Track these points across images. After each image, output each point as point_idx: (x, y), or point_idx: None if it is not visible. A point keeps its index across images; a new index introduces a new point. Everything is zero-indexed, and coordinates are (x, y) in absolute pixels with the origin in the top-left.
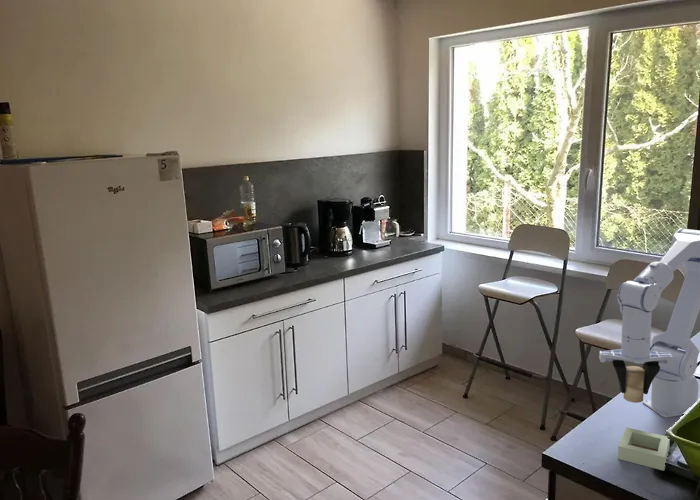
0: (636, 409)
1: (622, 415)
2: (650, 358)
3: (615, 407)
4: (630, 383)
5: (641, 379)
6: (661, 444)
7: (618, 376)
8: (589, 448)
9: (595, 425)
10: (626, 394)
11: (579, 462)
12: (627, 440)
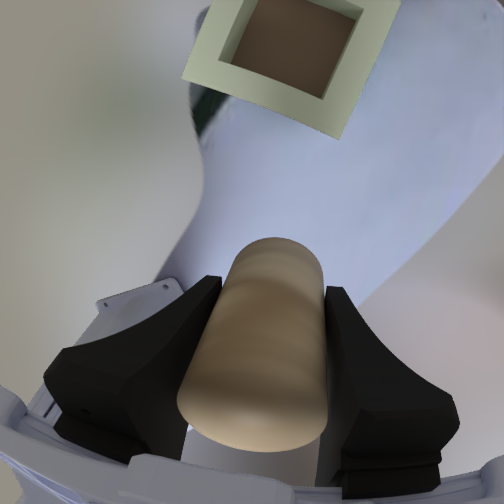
0: None
1: None
2: (67, 483)
3: None
4: (304, 315)
5: (219, 331)
6: (228, 18)
7: (397, 359)
8: (460, 87)
9: (402, 230)
10: (319, 279)
11: (492, 21)
12: (359, 35)
